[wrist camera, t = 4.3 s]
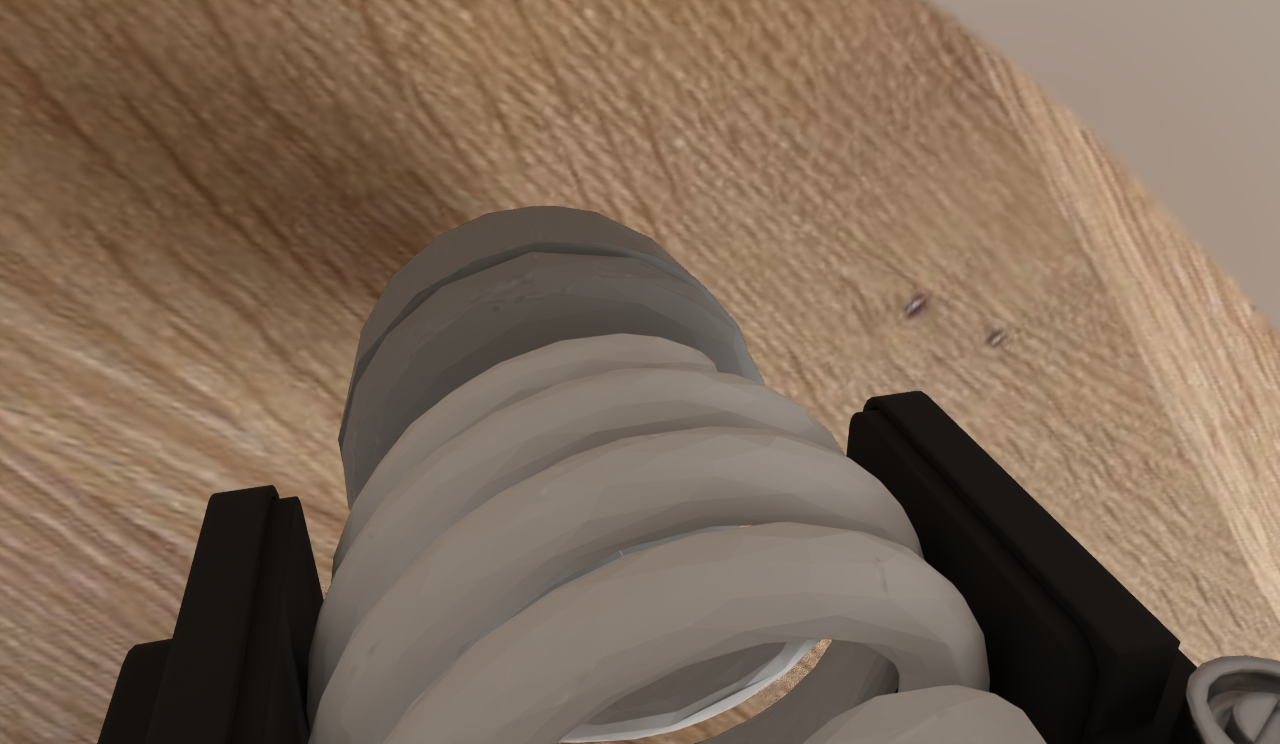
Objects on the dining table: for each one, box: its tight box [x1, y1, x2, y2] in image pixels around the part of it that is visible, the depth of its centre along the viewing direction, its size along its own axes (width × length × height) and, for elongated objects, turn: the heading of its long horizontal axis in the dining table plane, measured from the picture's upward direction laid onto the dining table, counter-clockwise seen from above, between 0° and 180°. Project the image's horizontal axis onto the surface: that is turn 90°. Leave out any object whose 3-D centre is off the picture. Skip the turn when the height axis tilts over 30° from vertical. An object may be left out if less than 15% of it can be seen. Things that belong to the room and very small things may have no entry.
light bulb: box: [306, 206, 1047, 744], centre depth 11 cm, size 6×6×12 cm
